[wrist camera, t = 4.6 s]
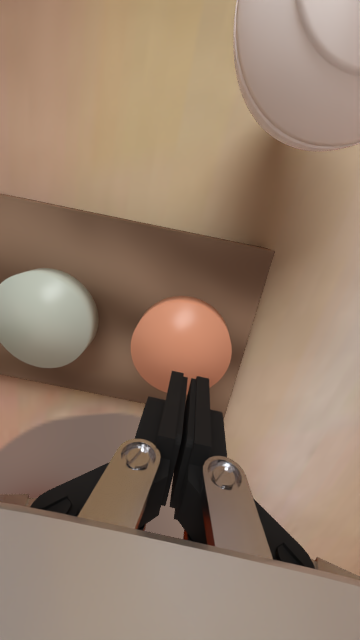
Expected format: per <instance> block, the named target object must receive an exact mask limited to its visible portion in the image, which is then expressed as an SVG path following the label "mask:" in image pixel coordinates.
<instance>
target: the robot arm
mask: <svg viewBox="0 0 360 640" xmlns="http://www.w3.org/2000/svg"><path fill="white" fill-rule="evenodd" d="M187 381H188V377H184V373H181V372H176V371H172V373H171V377H170V382H169V387H168V391H167V396H166V400H164V399H159V398H155V397H150V396H148V399H147V402H146V405H145V408H144V411H143V414H142V417H141V420H140V424H139V427H138V430H137V433H136V436H135V439H131V440H128V441H126V442H124V443H123V444H121V446H120V447H119V448H118V449H117V451H116V453H115V454H114V456H113V458H112V459H111V461H110V462H109V463H107V464H105V465H103V466H100V467H98V468H96V469H94V470H92V471H90V472H88V473H85V474H83V475H81V476H79V477H77V478H75V479H72V480H70V481H68V482H66V483H64V484H62V485H59V486H57V487H55V488H53V489H51V490H49V491H47V492H46V493H43V494H42V495H40V496H39V497H38V498H29V494H1V495H0V640H360V576H357V575H355V574H353V573H351V572H349V571H347V570H344V569H342V568H340V567H338V566H336V565H333V564H331V563H329V562H327V561H325V560H323V559H320V558H318V557H317V558H316V560H313V559H310V557H309V555H308V554H307V552H306V551H305V550H304V549H303V548H302V547H301V545H300V544H299V543H298V542H297V541H296V540H295V539H294V538H292V537H291V536H290V535H289V534H288V533H287V532H286V531H285V530H284V529H283V528H282V527H281V526H280V525H279V524H278V523H277V522H276V521H275V520H274V519H273V518H272V517H271V516H270V515H269V514H268V513H267V512H266V511H265V510H264V509H263V508H262V507H261V506H260V505H259V504H258V503H257V502H256V501H255V500H254V499H253V496H252V493H251V490H250V487H249V484H248V481H247V478H246V475H245V473H244V471H243V469H242V468H241V467H240V466H239V465H238V464H237V463H236V462H234V461H233V460H231V459H229V458H227V452H226V442H225V431H224V421H223V413H222V412H220V411H216V410H211V409H210V388H209V378H204V377H200V376H197V377H196V379H193V378H191V382H190V386H189V390H188V394H187V399H186V391H187ZM185 401H186V403H185ZM173 473H174V476H173ZM172 477H173V483H172V492H171V500H170V507H172V508H175V514H174V519H176V520H178V521H179V522H180V524H181V525H182V527H183V528H184V529H185V530H184V536H183V539H179V538H174V537H169V536H165V535H160V534H155V533H151V532H146V531H145V527H146V523H148V522H149V521H151V520H152V519H154V518H155V517H156V516H158V515H159V511H160V507H161V505H164V506H165V505H166V501H167V497H168V493H169V489H170V485H171V481H172Z"/></svg>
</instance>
